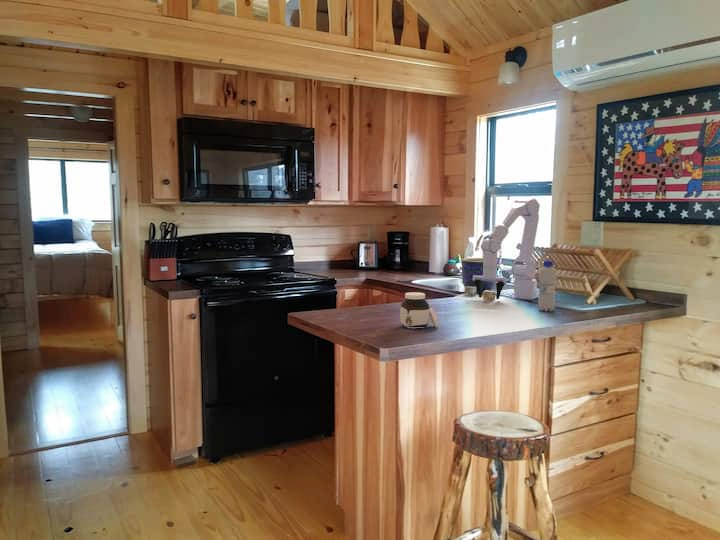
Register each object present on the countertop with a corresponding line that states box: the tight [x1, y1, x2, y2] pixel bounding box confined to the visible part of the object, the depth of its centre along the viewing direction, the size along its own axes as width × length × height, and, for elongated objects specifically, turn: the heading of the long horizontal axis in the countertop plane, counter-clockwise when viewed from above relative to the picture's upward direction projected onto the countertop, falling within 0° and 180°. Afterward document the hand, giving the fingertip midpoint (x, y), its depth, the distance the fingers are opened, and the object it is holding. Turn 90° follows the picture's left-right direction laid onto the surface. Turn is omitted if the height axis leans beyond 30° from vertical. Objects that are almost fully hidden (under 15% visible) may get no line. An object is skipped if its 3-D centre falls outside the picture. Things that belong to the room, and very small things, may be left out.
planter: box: [461, 257, 499, 293], centre depth 276 cm, size 17×17×15 cm
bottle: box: [537, 260, 558, 313], centre depth 228 cm, size 7×7×20 cm
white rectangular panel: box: [450, 292, 507, 304], centre depth 256 cm, size 20×16×1 cm
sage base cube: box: [464, 286, 477, 297], centre depth 261 cm, size 4×4×4 cm
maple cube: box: [482, 290, 496, 301], centre depth 249 cm, size 4×4×4 cm
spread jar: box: [399, 291, 440, 328], centre depth 199 cm, size 12×11×12 cm
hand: (489, 298), depth 249 cm, fingers open, 7 cm apart
